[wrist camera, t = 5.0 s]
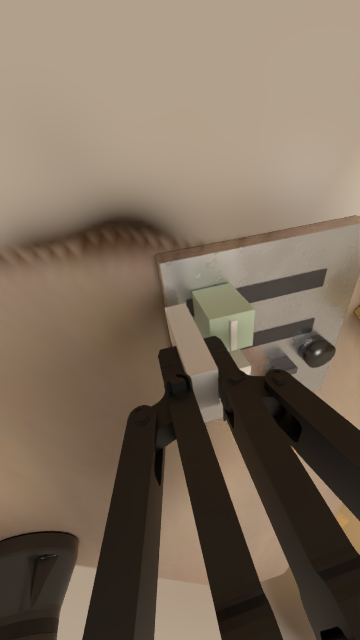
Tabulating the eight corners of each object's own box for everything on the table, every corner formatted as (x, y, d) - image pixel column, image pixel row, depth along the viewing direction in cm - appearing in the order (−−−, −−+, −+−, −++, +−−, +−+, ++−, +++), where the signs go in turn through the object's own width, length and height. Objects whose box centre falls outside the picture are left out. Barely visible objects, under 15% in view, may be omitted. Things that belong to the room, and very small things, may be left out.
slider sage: (195, 323, 20) (212, 358, 16) (191, 291, 18) (210, 322, 14) (229, 315, 20) (254, 348, 16) (229, 282, 18) (257, 311, 15)
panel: (184, 412, 29) (192, 442, 26) (155, 254, 18) (164, 274, 15) (309, 377, 31) (331, 401, 28) (355, 215, 20) (400, 225, 17)
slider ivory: (199, 366, 22) (215, 404, 19) (197, 342, 21) (214, 378, 17) (229, 358, 23) (250, 394, 19) (229, 334, 21) (252, 368, 18)
